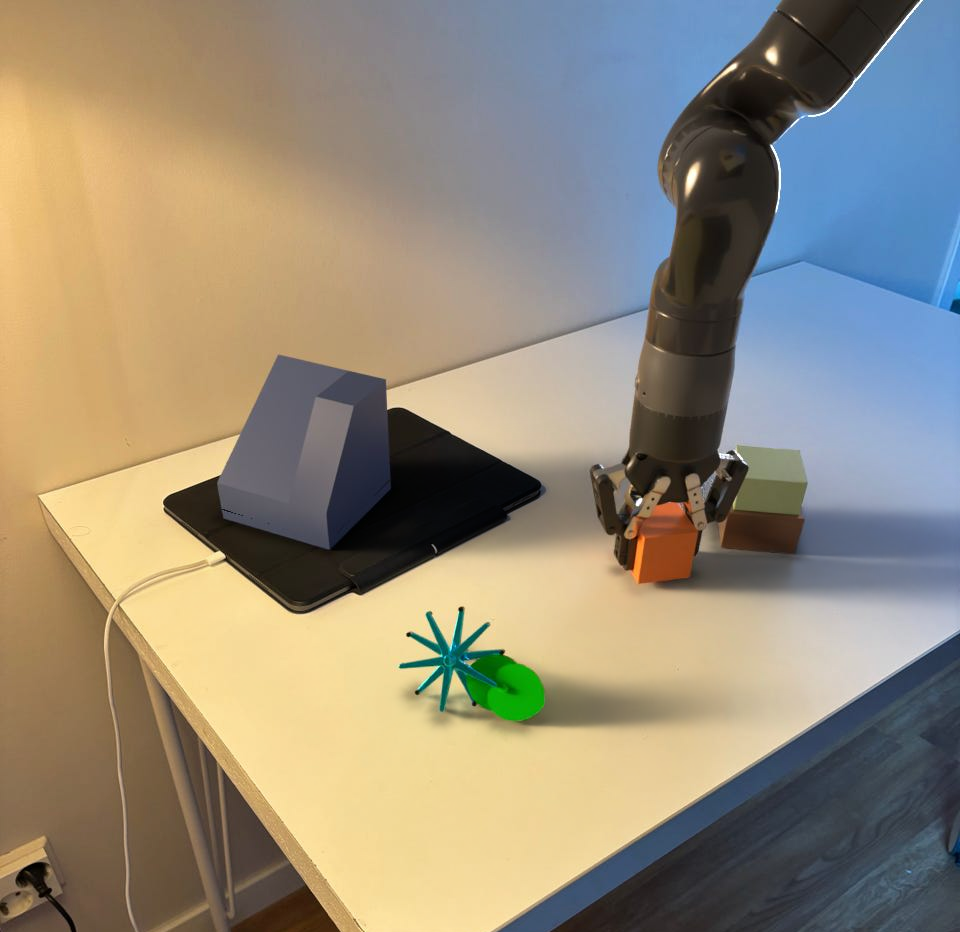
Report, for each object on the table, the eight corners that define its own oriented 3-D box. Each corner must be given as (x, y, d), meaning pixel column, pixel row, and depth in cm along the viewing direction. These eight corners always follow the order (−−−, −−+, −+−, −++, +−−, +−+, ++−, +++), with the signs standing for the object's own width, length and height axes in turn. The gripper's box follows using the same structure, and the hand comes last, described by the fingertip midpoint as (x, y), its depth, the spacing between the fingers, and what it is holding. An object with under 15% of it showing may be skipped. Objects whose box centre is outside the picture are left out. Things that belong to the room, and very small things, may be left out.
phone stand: (223, 518, 96) (203, 405, 88) (291, 461, 104) (278, 354, 97) (329, 549, 92) (318, 435, 85) (390, 488, 101) (385, 379, 93)
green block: (791, 481, 96) (800, 449, 93) (799, 515, 91) (808, 482, 89) (729, 476, 96) (735, 444, 94) (733, 510, 92) (740, 477, 89)
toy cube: (669, 546, 93) (677, 501, 90) (689, 577, 89) (698, 531, 86) (619, 552, 92) (625, 507, 89) (637, 584, 88) (644, 538, 85)
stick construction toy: (379, 680, 75) (423, 590, 74) (400, 669, 82) (441, 586, 81) (517, 755, 74) (565, 665, 73) (527, 737, 81) (571, 654, 80)
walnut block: (787, 514, 98) (796, 479, 96) (795, 554, 93) (805, 519, 91) (716, 508, 99) (723, 473, 96) (720, 548, 94) (728, 512, 91)
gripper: (612, 421, 75) (592, 596, 86) (784, 404, 78) (744, 576, 89) (583, 378, 81) (568, 547, 92) (745, 363, 83) (711, 530, 95)
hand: (655, 561), depth 90 cm, fingers closed on toy cube, 5 cm apart
